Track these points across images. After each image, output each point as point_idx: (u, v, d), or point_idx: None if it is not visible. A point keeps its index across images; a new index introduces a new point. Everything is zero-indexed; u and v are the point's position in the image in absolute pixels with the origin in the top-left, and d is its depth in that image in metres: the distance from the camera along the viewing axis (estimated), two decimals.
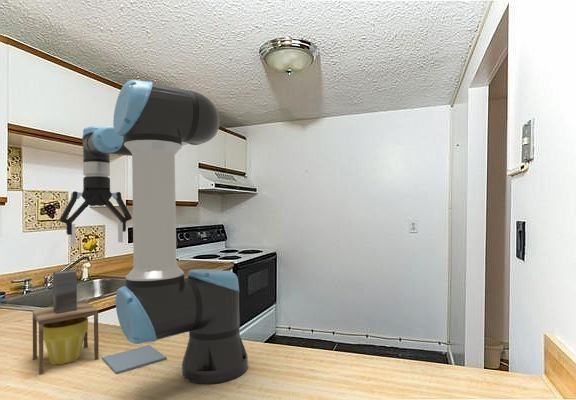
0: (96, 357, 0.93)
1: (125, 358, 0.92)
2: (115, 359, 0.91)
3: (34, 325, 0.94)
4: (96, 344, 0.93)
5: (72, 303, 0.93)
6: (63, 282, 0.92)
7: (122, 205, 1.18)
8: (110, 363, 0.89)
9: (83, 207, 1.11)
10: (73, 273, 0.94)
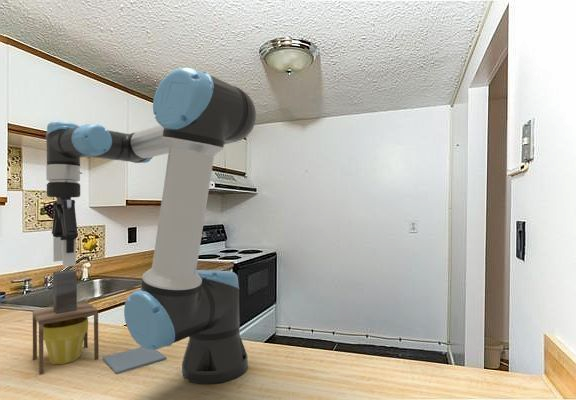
0: (96, 357, 0.93)
1: (125, 358, 0.92)
2: (115, 359, 0.91)
3: (34, 325, 0.94)
4: (96, 344, 0.93)
5: (72, 303, 0.93)
6: (63, 282, 0.92)
7: (63, 217, 0.89)
8: (110, 363, 0.89)
9: (55, 219, 0.97)
10: (73, 273, 0.94)
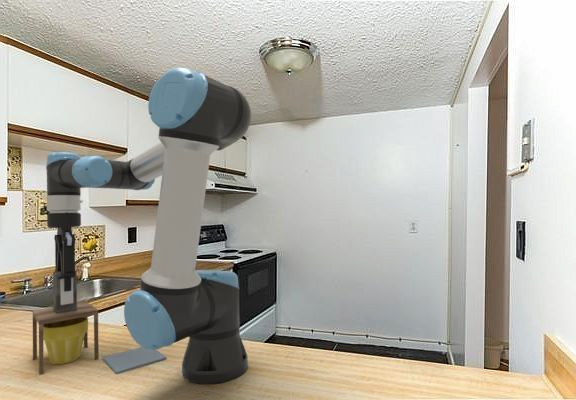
0: (96, 357, 0.93)
1: (125, 358, 0.92)
2: (115, 359, 0.91)
3: (34, 325, 0.94)
4: (96, 344, 0.93)
5: (72, 303, 0.93)
6: None
7: (63, 255, 0.90)
8: (110, 363, 0.89)
9: (57, 252, 0.95)
10: None
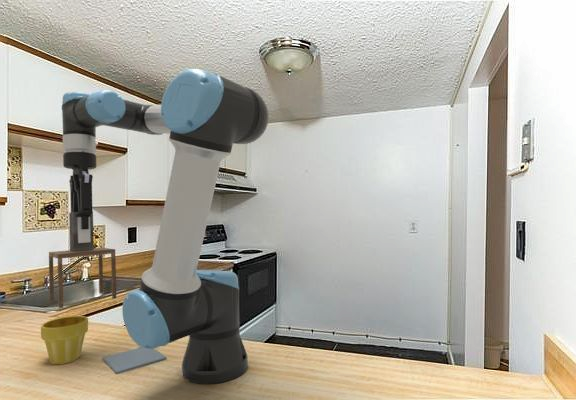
0: (114, 296, 0.93)
1: (125, 358, 0.92)
2: (115, 359, 0.91)
3: (50, 266, 0.94)
4: (114, 283, 0.93)
5: (89, 243, 0.93)
6: None
7: (80, 192, 0.90)
8: (110, 363, 0.89)
9: (73, 194, 0.95)
10: None
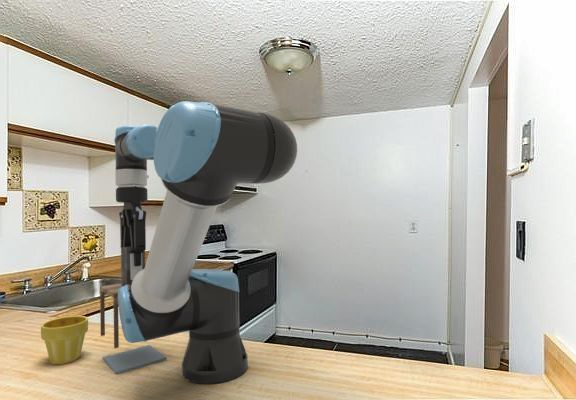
0: None
1: (125, 358, 0.92)
2: (115, 359, 0.91)
3: (102, 301, 0.93)
4: None
5: None
6: None
7: (134, 229, 0.89)
8: (110, 363, 0.89)
9: (124, 228, 0.94)
10: None
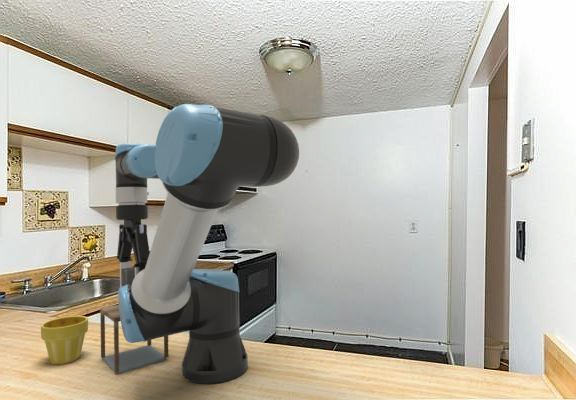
0: (166, 355, 0.91)
1: (125, 358, 0.92)
2: None
3: (102, 323, 0.93)
4: (166, 342, 0.91)
5: None
6: (133, 279, 0.91)
7: (136, 243, 0.87)
8: (110, 363, 0.89)
9: (123, 243, 0.95)
10: None
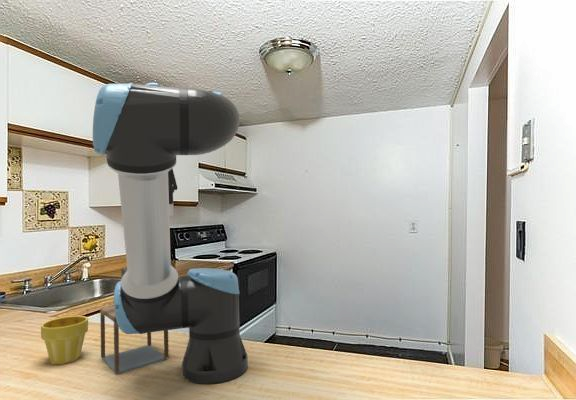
0: (166, 355, 0.91)
1: (125, 358, 0.92)
2: None
3: (102, 323, 0.93)
4: (166, 342, 0.91)
5: None
6: None
7: None
8: (110, 363, 0.89)
9: None
10: None
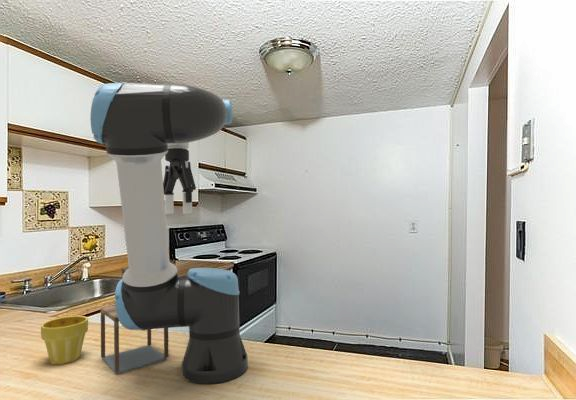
0: (166, 355, 0.91)
1: (125, 358, 0.92)
2: None
3: (102, 322, 0.93)
4: (166, 342, 0.91)
5: None
6: None
7: (184, 175, 1.13)
8: (110, 363, 0.89)
9: (168, 179, 1.21)
10: None
